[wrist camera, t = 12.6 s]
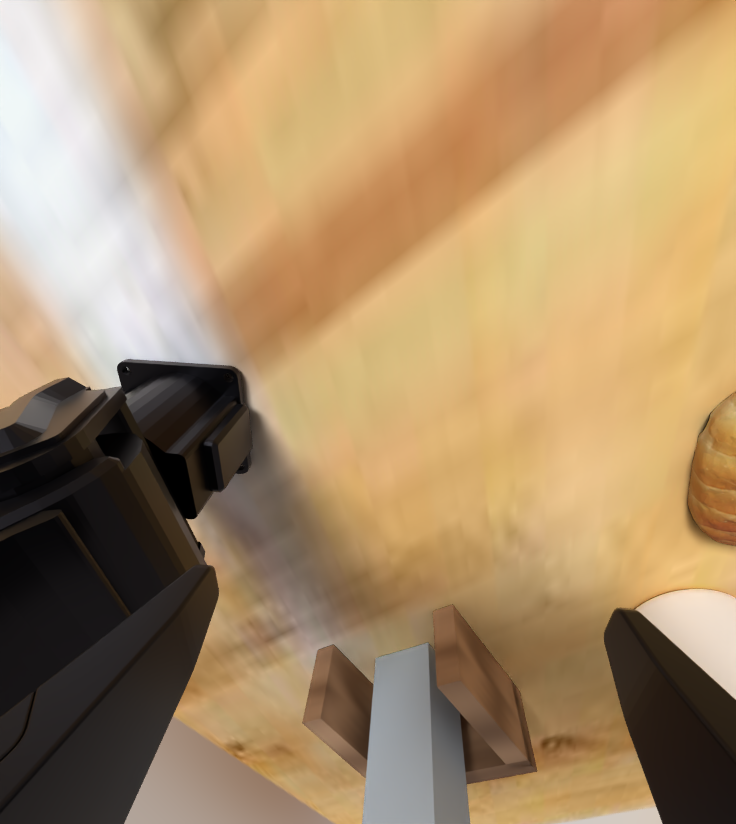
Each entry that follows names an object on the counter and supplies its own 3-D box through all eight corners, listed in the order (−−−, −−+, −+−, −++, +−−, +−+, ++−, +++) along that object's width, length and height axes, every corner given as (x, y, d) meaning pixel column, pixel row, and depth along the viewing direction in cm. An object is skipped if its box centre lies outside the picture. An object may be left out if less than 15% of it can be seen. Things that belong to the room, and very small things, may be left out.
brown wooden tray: (317, 650, 31) (302, 723, 27) (452, 604, 28) (460, 680, 23) (391, 723, 35) (388, 798, 31) (519, 691, 31) (537, 771, 27)
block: (375, 658, 31) (354, 923, 20) (428, 642, 30) (437, 918, 18) (405, 690, 33) (401, 954, 21) (456, 677, 31) (482, 952, 20)
